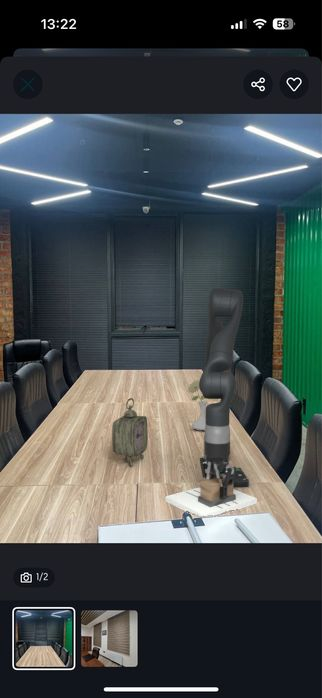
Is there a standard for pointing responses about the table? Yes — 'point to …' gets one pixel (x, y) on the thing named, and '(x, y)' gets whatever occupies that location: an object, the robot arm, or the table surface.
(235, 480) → the disk drive
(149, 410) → the table surface
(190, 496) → the board
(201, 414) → the flower in vase
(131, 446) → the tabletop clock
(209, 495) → the sanding block
